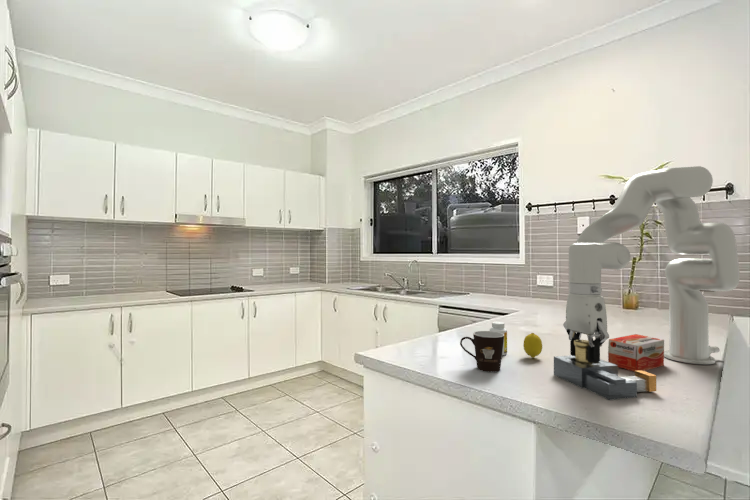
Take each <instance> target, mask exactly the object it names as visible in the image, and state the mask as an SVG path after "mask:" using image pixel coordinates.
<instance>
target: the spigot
mask: <svg viewBox="0 0 750 500" xmlns="http://www.w3.org/2000/svg"><path fill="white" fill-rule="evenodd" d="M574 345H575V361H576V362H578V363H581V364H593V362H591V363H590V362H588V360H587V347H588V346H590V345H589V341H588V339H580V340H574Z"/></svg>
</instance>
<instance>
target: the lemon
mask: <svg viewBox="0 0 750 500" xmlns="http://www.w3.org/2000/svg"><path fill="white" fill-rule="evenodd" d="M522 346H523V350H524V352H525V354H526V355H528V356H530V357H531V358H532V359H534V358H536V357H538V356H540V355H541V353H542V351H543V342H542V338H541V337H540V336H539V335H537V334H535V333H534V332H531V333H528V334H527V335H526V336H525V337H524V339H523V345H522Z"/></svg>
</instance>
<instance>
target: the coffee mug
mask: <svg viewBox="0 0 750 500" xmlns="http://www.w3.org/2000/svg"><path fill="white" fill-rule="evenodd" d="M472 335H473V337H472V338H471V337H470V336H463V337H461V339H460V342H459V345H460V347H461V348H462V349H463V351H464V352H466V353H467V354H468V355H469V356H471V357H473V358H474V359H475V361H476V369H477V370H478V371H481V372H484V373H485V372H486V373H497V372H501V366H502V358H503V355H502V350H503V342H504V334H502V333H499V332H494V331H490V330H477V331H474V332H472ZM466 339H467V340H470V341H471V343H472V344H473V346H474V353H475V355H474V354H473V353H472V352H470V351H468V350H467V349H466V348H465V346H463V341H464V340H466Z"/></svg>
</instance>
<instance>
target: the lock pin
mask: <svg viewBox="0 0 750 500" xmlns="http://www.w3.org/2000/svg"><path fill="white" fill-rule="evenodd" d="M620 377H621V378H624V379H626V381H627V380H632V381H635V382H637V393H640V392H642V393H643V392H649V393H651V392H657V375H656V374H653V373H651V372H647V371H646V370H645V371H642V370H638V371H635V372H634V375H630V376H629V375H628V376H627V375H626V376H620Z"/></svg>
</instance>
